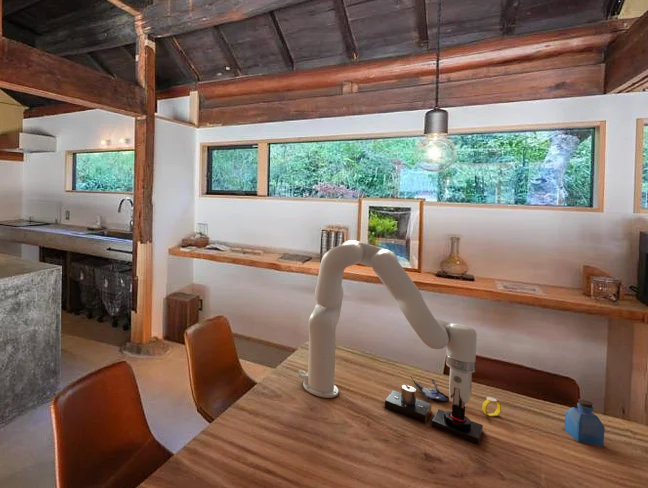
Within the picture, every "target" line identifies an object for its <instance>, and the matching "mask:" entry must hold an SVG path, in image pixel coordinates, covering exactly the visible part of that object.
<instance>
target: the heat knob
mask: <svg viewBox="0 0 648 488" xmlns="http://www.w3.org/2000/svg"><path fill="white" fill-rule="evenodd" d="M400 393H401V401H402V402H403V403H405V404H407V405H415V404H416V399H417V389H416V388H415V387H414V386H411V385H409V384H407V383H406V384H402V385H401V389H400Z"/></svg>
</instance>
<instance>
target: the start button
mask: <svg viewBox="0 0 648 488" xmlns="http://www.w3.org/2000/svg"><path fill="white" fill-rule="evenodd" d="M450 417H451V418H452V419H454V420H457V421H460V422H465V418H464V420H461V419H459V418H456V417H453V416H452V414H450Z"/></svg>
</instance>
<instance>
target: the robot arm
mask: <svg viewBox="0 0 648 488" xmlns="http://www.w3.org/2000/svg"><path fill="white" fill-rule="evenodd" d="M357 264H360V265H363V266H366V267H369V268H372V271H373V272H374V273H375V274H376V276H377V277H378V278H379V280H380V281H381V283H382V284H383V286H384V287H385V288H386V291H388V293H389V294H390V295H391V297H392V298H393V300H394V301H395V304H396V305H397V306H398V308H399V309H400V311H401V312H402V314H403V316H404V317H405V319H406V321H408V323H409V325H410V326H411V328H412V329H413V331H414V332H415V333H416V335H417V336H418V338H419V339H420V340H421V342H422V343H423V344H424V345H426V346H427V347H429V348H430V349H434V350H442V349H444V348H446V357H445V358H446V361H445V364H446V366H447V367H448V368H449V378H448V379H449V380H448V381H449V383H448V397H449V399H452V404H451V411H452V416H453V417H456V418H459V419H461V420H464V418H465V416H466V406H465V405H466V404H468V403H469V402H470V400H471V398H472V395H473V391H472V390H473V380H472V379H473V374H474V373H475V372H476V359H477V335H478V334H477V331H476V329H474V328H473V327H471V326H469V325H466V324H461V323H452V322H448V321H446V320H442V319H439V318H436V317H435V316H434V315H433V313H432V312H431V310H430V309H429V307H428V305H427V304H426V302H425V299H424V297H423V295H422V293H421V291H420V289H419V288H418V286H417V285H416V284H415V282H414V281H413V279H412V278H411V277H410V276H409V275H408V272H407V271H406V270H405V268H404V267H403V266H402V265H401V263H400V262H399V259H398V256H397V255H396V254H395V252H394V251H392V250H390V249H387V248H384V247H379V246H376V245H373V244H369V243H367V242H363V241H358V240H354V239H348V240H346V241H344V242H342V243H341V244H340V245H337V246H334V247H332V248H330V249H328V250H327V251H326V252H325V253H324V254H323V256H322V258H321V261H320V265H319V270H318V275H317V281H316V285H315V289H314V298H315V306H314V309H313V311H312V313H311V314H310V316H309V319H308V360H307V361H308V363H307V364H308V365H307V371H305V370H303V369H298V372H297V373H298V378H301V379H303V383H302V386H303V388H304V389H305V390H306V392H308V393H310V394H311V395H313V396H317V397H319V398H326V399H332V398H335V397H337V396H338V395H339V388H338V387H337V385H335V375H336V374H335V373H336V371H335V370H336V345H337V344H336V343H337V342H336V340H337V339H336V335H337V327H338V323H339V321H340V317H341V311H342V305H343V299H344V287H343V285H342V284H343V280H344V279H343V278H344V273H345V270H346V268H348V267H351V266H352V267H353V266H355V265H357Z"/></svg>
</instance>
